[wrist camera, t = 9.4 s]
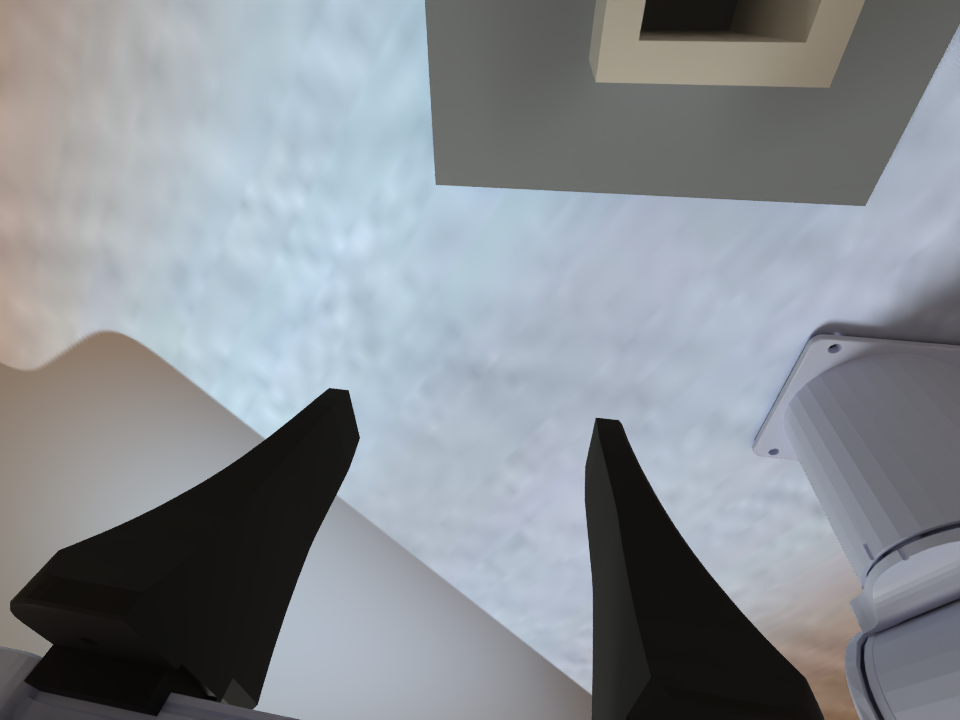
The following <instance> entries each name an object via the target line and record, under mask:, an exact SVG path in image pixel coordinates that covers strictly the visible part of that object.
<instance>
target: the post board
mask: <svg viewBox="0 0 960 720" xmlns="http://www.w3.org/2000/svg"><path fill="white" fill-rule="evenodd" d="M737 1H738V0H646V2H645V7H644V13H643V19H642V24H641V30H730V27H731V23H732V20H733V16H734V12H735V9H736V5H737ZM595 4H596V0H425V9H426V26H427V43H428V60H429V77H430V94H431V111H432V128H433V145H434V162H435V179H436V185H452V186H472V187H492V188H512V189H532V190H553V191H573V192H593V193H613V194H633V195H653V196H673V197H693V198H713V199H733V200H753V201H774V202H794V203H814V204H834V205H854V206H865V205H866V203H867V201H868V199H869V198H870V196H871V194H872V192H873V190H874V188H875V186H876V184H877V182H878V180H879V178H880V176H881V174H882V172H883V170H884V169H885V167H886V165H887V163H888V161H889V159H890V157H891V155H892V153H893V151H894V149H895V147H896V145H897V143H898V142H899V140H900V138H901V136H902V134H903V132H904V130H905V128H906V126H907V124H908V122H909V120H910V118H911V116H912V115H913V113H914V111H915V109H916V107H917V105H918V103H919V101H920V99H921V97H922V95H923V93H924V91H925V89H926V88H927V86H928V84H929V82H930V80H931V78H932V76H933V74H934V72H935V70H936V68H937V66H938V64H939V62H940V61H941V59H942V57H943V55H944V53H945V51H946V49H947V47H948V45H949V43H950V41H951V39H952V37H953V35H954V34H955V32H956V30H957V28H958V26H959V24H960V0H865V2H864V4H863V7H862V9H861V12H860V14H859V17H858V19H857V22H856V24H855V27H854V29H853V31H852V34H851V36H850V39H849V41H848V44H847V46H846V49H845V51H844V53H843V56H842V58H841V61H840V63H839V66H838V68H837V71H836V73H835V75H834V78H833V80H832V83H831V85H830V88H815V87H772V86H729V85H687V84H644V83H601V82H595V79H594V75H593V72H592V68H591V65H590V62H589V52H590V44H591V36H592V28H593V20H594V12H595Z"/></svg>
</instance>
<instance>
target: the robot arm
mask: <svg viewBox="0 0 960 720" xmlns="http://www.w3.org/2000/svg"><path fill="white" fill-rule="evenodd" d="M833 344H837V345H836V346H835V347H833V348H829V347H830V346H831V345H833ZM359 439H360V437H359V432H358V428H357V424H356V420H355V415H354V411H353V407H352V403H351V399H350V394H349V390H341V389H332V388H329V389H328V390H326V391H325V392H324V393H323V394H321V395H320V396H319V397H318V398H316V399H315V400H314V401H313V402H312V403H310V404H309V405H308V406H307V407H306V408H304V409H303V410H302V411H301V412H300V413H298V414H297V415H296V416H295V417H293V418H292V419H291V420H290V421H289V422H287V423H286V424H285V425H284V426H282V427H281V428H280V429H279V430H277V431H276V432H275V433H273V434H272V435H271V436H270V437H268V438H267V439H266V440H264V441H263V442H262V443H260V444H259V445H258V446H256V447H255V448H253V449H252V450H251V451H249V452H248V453H247V454H245V455H244V456H243V457H241V458H240V459H238V460H237V461H235V462H234V463H232V464H231V465H229V466H228V467H226V468H225V469H223V470H222V471H220V472H218V473H217V474H215V475H214V476H212V477H210V478H209V479H207V480H206V481H204V482H202V483H200V484H199V485H197V486H195V487H193V488H192V489H190V490H188V491H186V492H184V493H183V494H181V495H179V496H178V497H176V498H173V499H172V500H170V501H168V502H166V503H164V504H163V505H161V506H159V507H157V508H155V509H153V510H151V511H148V512H146V513H144V514H142V515H140V516H139V517H136V518H134V519H132V520H130V521H128V522H125V523H123V524H121V525H119V526H117V527H114V528H112V529H110V530H108V531H105V532H103V533H101V534H98V535H96V536H93V537H91V538H88V539H86V540H83V541H81V542H79V543H76V544H74V545H71V546H69V547H66V548H64V549H61V550H59V551H58V552H57V553H56V554H55V555H54V556H53V557H52V558H51V559H50V560H49V561H48V562H47V564H45V566H44V567H43V568H42V569H41V570H40V571H39V572H38V573H37V574H36V575H35V576H34V577H33V578H32V579H31V580H30V581H29V582H28V584H27V585H26V586H25V587H24V588H23V589H22V590H21V591H20V592H19V593H18V594H17V595H16V596H15V597H14V598H13V599H12V600H11V602H10V610H11V612H12V613H13V615H14V616H15V617H16V618H18V619H19V620H20V621H21V622H22V623H24V624H25V625H27V626H28V627H30V628H31V629H32V630H34V631H35V632H36V633H38V634H39V635H41V636H42V637H44V638H45V639H46V640H48V641H49V642H51V643H52V644H54V645H53V646H52V647H51V648H50V649H49V651H48V652H47V653H46V655H45V656H44V657H43V658H42V657H40V656H38V655H35V654H33V653H29V652H26V651H21V650H16V649H11V648H7V647H1V646H0V720H299V719H294V718H290V717H284V716H280V715H275V714H270V713H265V712H261V711H256V710H252V709H254V708H255V707H256V706H257V705H258V702H259V697H260V694H261V690H262V687H263V684H264V681H265V677H266V674H267V670H268V667H269V664H270V660H271V657H272V654H273V650H274V647H275V644H276V641H277V638H278V635H279V632H280V629H281V626H282V623H283V620H284V617H285V614H286V611H287V608H288V605H289V602H290V600H291V597H292V594H293V591H294V589H295V586H296V583H297V580H298V577H299V575H300V572H301V570H302V567H303V565H304V562H305V559H306V557H307V554H308V551H309V549H310V547H311V545H312V542H313V540H314V538H315V536H316V534H317V532H318V530H319V528H320V526H321V524H322V522H323V520H324V518H325V516H326V514H327V512H328V510H329V508H330V506H331V504H332V502H333V500H334V498H335V496H336V494H337V492H338V490H339V488H340V486H341V484H342V482H343V480H344V478H345V476H346V474H347V472H348V470H349V468H350V465H351V462H352V459H353V457H354V454H355V451H356V448H357V445H358V442H359ZM752 449H753V451H754V454H756V455H758V456H763V457H772V458H780V459H789V460H798V461H799V462H800V464H801V466H802V468H803V470H804V472H805V474H806V476H807V478H808V480H809V482H810V484H811V486H812V488H813V490H814V492H815V494H816V496H817V498H818V500H819V502H820V504H821V506H822V508H823V510H824V512H825V514H826V516H827V518H828V520H829V522H830V524H831V526H832V528H833V530H834V532H835V534H836V536H837V538H838V540H839V542H840V544H841V546H842V548H843V551H844V553H845V555H846V557H847V559H848V561H849V563H850V565H851V567H852V569H853V571H854V573H855V575H856V577H857V579H858V581H859V583H860V585H861V587H862V589H863V591H862V593H861V594H860V595H859V596H857V597H856V598H854V599H853V600H851V601H850V602H849V604H850V606H851V608H852V610H853V612H854V615H855V617H856V619H857V621H858V623H859V625H860V628H861V630H862V631H861V632H859V633H857V634H856V635H855V636H854V637H853V638H852V639H851V640H850V642H849V643H848V645H847V648H846V653H845V671H846V677H847V682H848V687H849V690H850V693H851V696H852V699H853V702H854V705H855V708H856V710H857V713H858V716H859V718H860V720H960V345H948V344H936V343H924V342H911V341H899V340H887V339H875V338H863V337H851V336H839V335H827V334H821V335H817V336H814V337H813V338H811V339H810V340H809V341H808V343H807V345H806V347H805V348H804V350H803V352H802V354H801V356H800V358H799V360H798V361H797V363H796V365H795V367H794V369H793V371H792V372H791V374H790V376H789V378H788V380H787V382H786V384H785V385H784V387H783V389H782V391H781V393H780V395H779V397H778V398H777V400H776V402H775V404H774V406H773V408H772V409H771V411H770V413H769V415H768V417H767V419H766V421H765V422H764V424H763V426H762V428H761V430H760V432H759V434H758V435H757V437H756V439H755V441H754V443H753V445H752ZM771 449H772V450H771ZM585 507H586V518H587V529H588V540H589V550H590V561H591V571H592V585H593V683H592V720H824V717H823V714H822V712H821V710H820V708H819V705H818V703H817V701H816V699H815V697H814V695H813V692H812V690H811V688H810V686H809V684H808V682H807V680H806V678H805V677H804V676H803V675H802V674H801V673H800V672H799V671H798V670H797V669H796V668H795V667H794V666H793V665H792V664H791V663H790V662H789V661H788V660H787V659H786V658H785V657H784V656H783V655H782V654H781V653H780V652H779V651H778V650H777V649H776V648H775V647H774V646H773V645H772V644H771V643H770V642H769V641H768V640H767V639H766V638H765V637H764V636H763V635H762V634H761V633H760V632H759V631H758V629H757V628H756V627H755V626H754V625H753V624H752V623H751V622H750V621H749V620H748V619H747V617H746V616H745V615H744V614H743V613H742V612H741V611H740V610H739V609H738V607H737V606H736V605H735V604H734V603H733V601H732V600H731V599H730V598H729V597H728V595H727V594H726V593H725V592H724V591H723V589H722V588H721V587H720V586H719V585H718V583H717V582H716V581H715V580H714V579H713V577H712V576H711V575H710V574H709V573H708V571H707V570H706V569H705V567H704V566H703V565H702V563H701V562H700V561H699V559H698V558H697V557H696V555H695V554H694V553H693V551H692V550H691V549H690V547H689V546H688V544H687V543H686V542H685V540H684V539H683V537H682V536H681V534H680V533H679V531H678V530H677V528H676V527H675V525H674V524H673V522H672V521H671V519H670V518H669V516H668V514H667V513H666V511H665V510H664V508H663V506H662V505H661V503H660V501H659V500H658V498H657V496H656V494H655V493H654V491H653V489H652V487H651V485H650V484H649V482H648V480H647V478H646V476H645V474H644V472H643V470H642V469H641V467H640V465H639V463H638V460H637V458H636V456H635V454H634V452H633V450H632V448H631V445H630V443H629V441H628V438H627V436H626V434H625V431H624V428H623V426H622V424H621V422H620V421H619V420H612V419H603V418H596V420H595V424H594V429H593V434H592V438H591V443H590V447H589V452H588V457H587V461H586V466H585Z"/></svg>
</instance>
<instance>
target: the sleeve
mask: <svg viewBox="0 0 960 720" xmlns="http://www.w3.org/2000/svg"><path fill="white" fill-rule="evenodd" d="M645 2H646V0H596V4H595V12H594V20H593V28H592V36H591V44H590V52H589V62H590V65H591V68H592V72H593V75H594V79H595V82H601V83H644V84H687V85H729V86H772V87H815V88H830V85H831V83H832V80H833V78H834V75H835V73H836V71H837V68H838V66H839V63H840V61H841V58H842V56H843V53H844V51H845V49H846V46H847V44H848V41H849V39H850V36H851V34H852V31H853V29H854V27H855V24H856V22H857V19H858V17H859V14H860V12H861V9H862V7H863V4H864V2H865V0H738V1H737V5H736V9H735V12H734V16H733V20H732V23H731V27H730V30H641V24H642V19H643V13H644V7H645Z"/></svg>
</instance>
